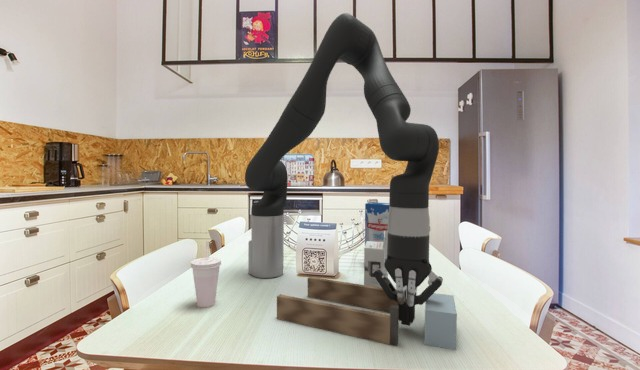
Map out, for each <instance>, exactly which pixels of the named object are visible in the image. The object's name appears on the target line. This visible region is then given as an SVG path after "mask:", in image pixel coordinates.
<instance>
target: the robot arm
mask: <svg viewBox="0 0 640 370" xmlns="http://www.w3.org/2000/svg"><path fill="white" fill-rule="evenodd" d="M339 60H340V61H342V62H343V63H345V64H348V65H350V66H353V68H354V69H355V70H356V71H358V72H359V73H358V74H360V75H361V77H362V79H363V81H364V82H363V94H364V99H365V101H366V103H367V105H368V107H369V109H370V111H371V113H372V115H373V117H374V119H375V122H376V128H377V134H378V140H379V141H378V142H379V147H380V148H381V151H382V152H383V153H384V154H385V156H387V157H388V159H390V160H392V161H397V162H407V164H406V167H405V170H404V172H403V173H401V174H397V175H394V176H392V178H390V182H389V198H388V199H389V200H388V203H389V206H390V207H389V214H388V236H387V259H386V261H385V263H384V266H383V267H382V268H378V269H377V270H376V271H375V272H374V273H373V275H374V277H375V278H376V280H377V281H378V283H379V284H380V286H381V287H382V289H383V290H384V292H385V293H386V295H387V296H388V298H389V299H391V300H395V301H396V302H397V303H398V306H399V322H400V323H401V325H403V326H410V325H411V324H413V323H414V320H415V317H416V305H419V306H422V305H424V304H425V303H426V300H427V299H428V298H429V297H430V296H431V295H432V294H433V293H436V291H437V290H438V289H439V288H440V287H441V286H442V284H443V282H444V279H443V277H442V276H440V275H439V276H438V275H437V274H436V273H435V272H433V268H432V265H431V264H430V263H431V262H430V232H431V222H430V220H431V219H430V211H429V207H430V206H429V203H430V202H429V200H430V190H429V189H430V183H431V180H432V176H433V173H434V169H435V167H436V162H437V159H438V155H439V150H440V142H439V140H440V139H439V137H438V134H437V132H436V129H434V128H433V127H432V126H431V125H429V124H424V123H415V122H414V123H413V122H407V120H408V119H409V117H410V116H411V109H412V108H411V104H410V103H409V101H408V99H407V97H406V96H405V94H404V93H403V91H402V89H401V88H400V86H399V85H398V83H397V82H396V80H395V79H394V77H393V75H392V73H391V71H390V69H389V67H388V65H387V63H386V61H385V58H384V55H383V53H382V50H381V46H380V44H379V40H378V39H377V36H376V34H375V32H374V31H373V30H372V29H371V28H370V27H369V26H368V25H366V24H365V23H364V22H362V21H361V20H359V19H358V18H356V17H355V16H354V15H353V14H351V13H348V12H344V13H341V14H339V15H338V16H337V17H336V18H335V19H334V20H333V21H332V22H331V24H330V25H329V26H328V29H327V30H326V32H325V34H324V36H323V38H322V39H321V42H320V44H319V46H318V47H317V50H316V53H315V55H314V57H313V59H312V61H311V63H310V65H309V67H308V69H307V70H306V73H305V74H304V76H303V79H302V80H301V82H300V83H299V85H298V87H297V88H296V90H295V92H293V94H292V96H291V98H290V99H289V101H288V102H287V104H286V106H285V108H284V110H283V112H282V113H281V115H280V117H279V119H278V120H277V122H276V124H275V126H274V127H273V128H272V131H271V132H270V133H269V135H268V136H267V138H266V140H265V141H264V143H263V144H262V145H261V147H259V149H258V151H257V152H256V153H255V154H254V155H253V157H252V159H251V160H250V161H249V163H248V164H247V165H246V166H247V167H246V169H245V173H244V182H245V185H246V187H247V188H248V189H249V190H251V191H253V192H263V194H262V197H261V198H260V199H259V200H258V201H257V202H255V203H254V204H252V206H251V232H250V233H251V234H250V235H251V239H250V240H249V241H248V261H247V262H248V265H247V267H248V269H247V271H248V275H251V276H253V277H255V278H261V279H271V278H277V277H281V276H282V275H283V274H284V269H285V268H284V267H285V266H284V257H285V255H284V249H285V248H284V245H285V244H284V242H285V241H284V239H285V237H284V232H285V231H284V230H285V229H284V226H285V225H284V224H285V223H284V222H285V221H284V217H285V213H284V211H285V208H286V204H287V199H288V197H287V196H288V181H289V180H288V170H287V167H286V165H285V163H284V162H283V161H281V160H282V159H283V158H284V157H285V156H286V155H287V153H289V152H290V151H292V150H293V149H295V148H296V147H297V146H299V145H300V144H302V143H303V142H305V140H307V139H308V138H309V137H310V136H311V135H312V133H313V132H314V130H315V129H316V127H317V126H318V124H319V122H320V121H321V120H322V118H323V116H324V114H325V112H326V105H327V103H326V102H327V86H328V80H329V78H330V75H331V73H332V71H333V69H334V67H335V66H336V64H337V62H338V61H339ZM389 276H390V278H391V279H392V281H393V282H394V283H395V286H394V284H393V283H392V282H391V280H390V279H389V278H388V277H389ZM427 278H428V281H427V284H428V286H427V287H426V288H425V289H424V290H423V291H422V292H421V293H420V294H418V293H417V292H418V287H420V286H421V284H422V283H423V282H424V281H425V280H426V279H427ZM407 286H408V292H407V291H406V288H407ZM407 293H408V296H407ZM417 294H418V295H417ZM406 299H407V302H406Z"/></svg>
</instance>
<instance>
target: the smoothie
mask: <svg viewBox="0 0 640 370" xmlns="http://www.w3.org/2000/svg"><path fill="white" fill-rule="evenodd" d="M205 243H206V244H205V245H206V247H205V248H206V251H205V252H206V253H205V254H206V256H205V257H201V258H200V257H199V258H195V259H193V260H191V261H190V268H191V269H192V275H193V282H194V289H195V297H196V298H195V299H196V305H197V307H198V308H210V307H213V306H214V305H215V304H216V297H217V290H218V281H219V273H220V266H221V265H222V260H221V259H220V258H218V257H211V256H210V240H206V242H205Z"/></svg>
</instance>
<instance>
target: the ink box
mask: <svg viewBox="0 0 640 370" xmlns="http://www.w3.org/2000/svg"><path fill="white" fill-rule="evenodd" d="M363 248H364V249H363V250H364V252H363V253H364V256H363V257H364V258H363V261H364V262H363V266H364V267H363V285H366V286H373V287H379V288H382V287H381V286H380V284H379V283H378V281H377V280H376V278H375V277H374V275H373V273H374V272H375V271H376V270H377V269H378V268H382V267H383V266H384V263H385V231H384V242H374V241H367V242H366V244H365V243H364V247H363Z"/></svg>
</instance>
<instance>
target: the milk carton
mask: <svg viewBox="0 0 640 370" xmlns="http://www.w3.org/2000/svg"><path fill="white" fill-rule="evenodd" d="M364 204H365V206H364V207H365V212H364V245H365V244H366V242H367V241H374V242H384V231H385V261H386V259H387V236H388V214H389V207H390V206H389V202H388V203H387V202H376V201H375V202H374V201H373V202H366V203H364Z"/></svg>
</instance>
